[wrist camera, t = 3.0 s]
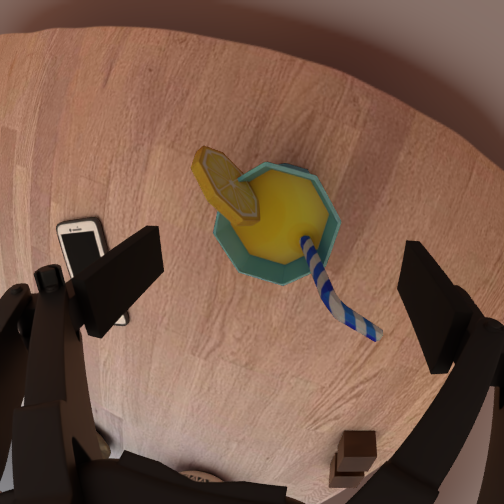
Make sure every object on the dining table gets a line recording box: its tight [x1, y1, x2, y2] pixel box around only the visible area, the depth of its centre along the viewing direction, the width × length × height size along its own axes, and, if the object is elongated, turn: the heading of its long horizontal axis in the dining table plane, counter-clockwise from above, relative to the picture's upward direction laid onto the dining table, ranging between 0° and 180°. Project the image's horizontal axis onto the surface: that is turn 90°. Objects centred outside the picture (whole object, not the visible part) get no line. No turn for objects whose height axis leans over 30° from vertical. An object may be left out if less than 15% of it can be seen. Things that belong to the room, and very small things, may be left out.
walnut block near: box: [337, 431, 377, 472], centre depth 37 cm, size 5×5×5 cm
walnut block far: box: [329, 453, 364, 488], centre depth 40 cm, size 5×5×5 cm
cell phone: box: [56, 217, 129, 326], centre depth 36 cm, size 8×15×1 cm, turn 7°
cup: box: [191, 146, 383, 342], centre depth 21 cm, size 14×8×15 cm, turn 54°
